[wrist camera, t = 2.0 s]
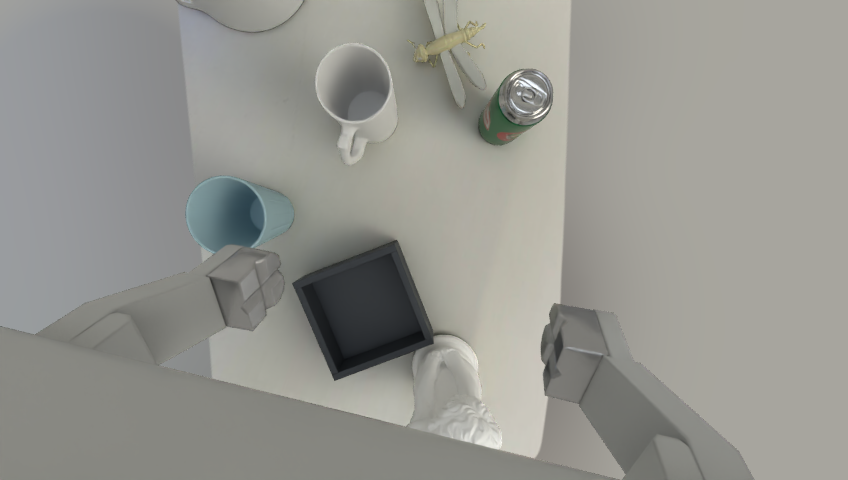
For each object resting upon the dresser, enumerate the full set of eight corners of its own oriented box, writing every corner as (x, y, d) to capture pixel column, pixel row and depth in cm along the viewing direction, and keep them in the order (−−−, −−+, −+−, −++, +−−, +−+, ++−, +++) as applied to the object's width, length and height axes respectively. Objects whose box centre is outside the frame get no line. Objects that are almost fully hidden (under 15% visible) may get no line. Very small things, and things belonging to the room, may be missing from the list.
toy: (500, 102, 42) (510, 88, 37) (430, 126, 42) (431, 115, 37) (463, -22, 40) (469, -53, 35) (391, 4, 41) (387, -24, 36)
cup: (248, 248, 43) (194, 262, 33) (235, 187, 43) (176, 182, 32) (307, 239, 43) (272, 250, 33) (296, 178, 43) (256, 169, 32)
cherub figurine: (431, 314, 45) (441, 421, 23) (517, 351, 45) (608, 489, 23) (394, 396, 46) (370, 573, 24) (479, 430, 46) (531, 633, 24)
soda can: (487, 97, 42) (514, 54, 30) (525, 113, 42) (567, 77, 30) (471, 136, 42) (491, 110, 30) (508, 152, 43) (543, 132, 31)
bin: (305, 275, 44) (292, 283, 39) (397, 239, 44) (394, 244, 39) (342, 363, 45) (334, 381, 41) (432, 329, 45) (434, 343, 40)
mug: (352, 81, 41) (325, 32, 30) (406, 97, 42) (401, 55, 30) (332, 163, 42) (297, 148, 31) (384, 178, 43) (371, 169, 31)
